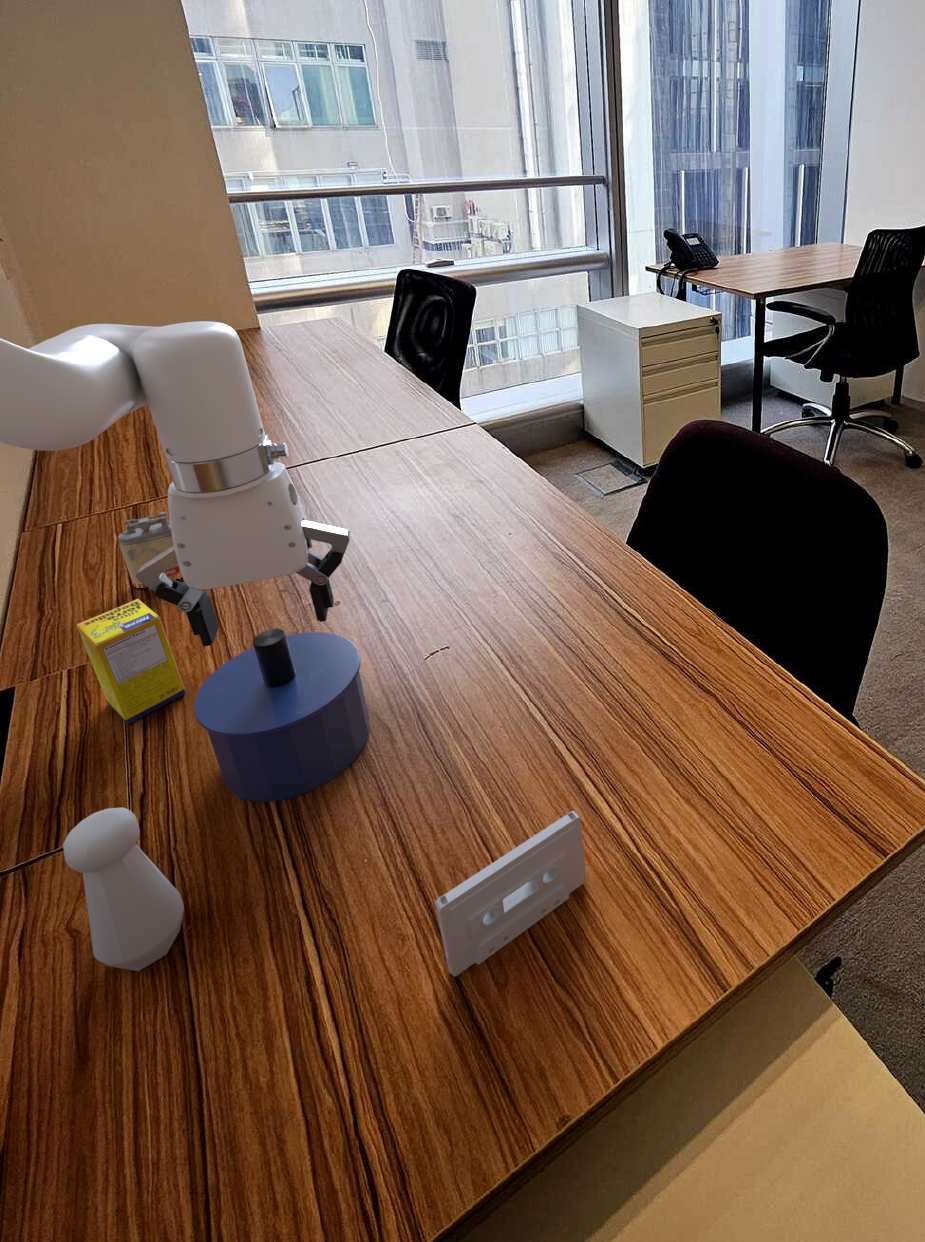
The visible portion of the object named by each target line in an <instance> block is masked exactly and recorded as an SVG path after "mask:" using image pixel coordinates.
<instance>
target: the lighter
mask: <svg viewBox="0 0 925 1242" xmlns="http://www.w3.org/2000/svg"><path fill="white" fill-rule="evenodd" d="M168 518H169V515H168V514H167V512H166V511H161V512H159V513H158V514H155V515H152V516H146V517H142V518H138V519H135V518H132V519H128V520H125V521H124V524H125V526H126V530H125V531H123V532H122V533H120V534H119V535H118V536H117V539H118V542H119V543H118V544H119V548H120V550H121V553H122V557H123V559H124V562H125V565H126V568H127V570H128V573H129V576H130V579H131V582H132V584H133V583H135V584H143V583H141V582H140V581H139V580H138V579H137V578H136V574H137V572H138V570H139V569H140V567H141V566H142V565H144V564H145V563H147V562H148V561H150V560H152V559H153V558H155V557H156V556H158V555H159V554H161V553H163V552H164V551H166V550H167V549H169V548H170V547H172V546H174V543H173V538H172V532H171V526H170V520H169V519H168ZM180 573H181V572H180V568H179V565H178V563H177V564H175V565H174V566H172V567H171V568H169V569H167V570H166V571H164V574H166V575H167V577H168V578H169V577H171V576H173V575H177V574H180Z"/></svg>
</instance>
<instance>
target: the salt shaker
mask: <svg viewBox="0 0 925 1242" xmlns="http://www.w3.org/2000/svg"><path fill="white" fill-rule="evenodd" d="M140 833H141V830H140V827H139V823H138V820H137V817H136V815H135V814H134V812H133V811H132V810H130V809H127V808H126V807H124V806H123V807H111V808H110V807H109V808H104V809H102V810H99V811H97V812H93V813H91V814H90V815H89V816H87V817H85V818H84V819H82V820H81V821H80V822H79V823H77V825H76V826H74V827H73V828H72V829H71V830H70V832H68V834H67V836H66V838H65V839H64V841H63V843H62V850H63V855H64V861H65V863H66V865H67V866H68V868H70V869H72V870H74V871H75V872H77V873H80V874H82V878H83V885H84V893H85V901H86V907H87V916H88V924H89V931H90V939H91V947H92V954H93V957H94V959H96V960H97V961H98V962H100V963H102V964H104V965H106V966H108V967H110V968H117V969H121V970H129V971H135V972H140V971H141V970H143V969H145V968H146V967H148V966H149V965H152V964H153V963H154V962H156V961H158V960H159V959H161V958H163V957H164V956H166V955H167V954H168V952H169V951H170V949H171V947H172V945H173V943H174V942H175V940H176V939H177V936H178V935H179V933H180V931H181V926H182V922H183V917H184V913H185V907H184V902H183V899H182V896H181V893H180V892H179V891H178V889H177V888H176V887H175V886H174V885H173V884H172V882H170V880H169V879H168V878H167V877H166V876H165V875H164V874H163V872H162V871H161V870H160V869H159V868H158V867H157V866H156V865H155V864H154V862H153V861H152V860H151V859H150V858H149V857H148V856H147V855H146V854H145V852H144V851H143V850H142V849H141V847H139V846H138V845H137V841H138V839H139V837H140Z"/></svg>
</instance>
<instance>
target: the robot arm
mask: <svg viewBox="0 0 925 1242" xmlns="http://www.w3.org/2000/svg"><path fill="white" fill-rule="evenodd" d="M144 406H148V408H149V411H150V414H151V417H152V421H153V423H154V427H155V429H156V433H157V436H158V439H159V442H160V445H161V448H162V451H163V454H164V458H165V461H166V464H167V467H168V470H169V473H170V477H171V481H172V482H171V483H170V484H169V486H168V489H167V507H168V518H169V519H168V520H169V522H170V526H171V532H172V538H173V543H174V546H172V547H170V548H169V549H167V550H166V551H164V552H163V553H161V554H159V555H158V556H156V557H155V558H153V559H152V560H150V561H148V562H147V563H145V564H144V565H142V566H141V567H140V569H139V570H138V572H137V574H136V578H137V579H138V580H139V581H140V582H141V583H143V584H144V585H145V586H146V587H148V588H147V589H149V590H150V591H153V593H154V596H155V597H156V598H158V599H161V600H162V601H164V602H168V603H170V604H173V605H175V606H177V609H178V611H180V612H182V613H186V616H187V619H188V622H189V625H190V628H191V631H192V634H193V635H194V636H199V638H200V642H201V644H202V646H203V647H209V646H212V645H213V644H214V641H215V639H216V637H217V634H218V630H219V628H220V625H219V620H218V618H217V615H216V612H215V608H214V605H213V602H212V598H211V596H210V594H208V593H207V590H215V589H222V588H227V587H232V586H237V585H242V584H243V585H244V584H248V583H254V582H259V581H264V580H270V579H274V578H280V577H283V576H288V575H292V574H297V575H299V576H300V577H303V578H304V579H306V580H308V581H309V582H310V585H309V594H310V597H311V601H312V605H313V610H314V613H315V616H316V620H317V622H319V623H322V622H326V621H327V619H328V612H329V609H331V608H333V607H334V603H335V600H334V595H333V590H332V586H331V582H330V577H331V576H332V574H333V573H334V572H335V571H336V570H337V569H338V567H339V566H340V565H341V564H342V562H343V559H344V556H345V554H346V550H347V548H348V546H349V544H350V540H351V539H350V538H351V531H350V530H349V529H346V528H342V527H337V526H333V525H328V524H323V523H319V522H315V521H310V520H307V516H306V513H305V510H304V508H303V504H302V502H301V499H300V497H299V494H298V492H297V489H296V487H295V484H294V483H293V480H292V478H291V475H290V474H289V472H288V470H287V468H286V467H285V464H283V463H282V462H279V461H280V459H286V458H287V459H288V458H289V448H288V444H287V443H286V442H283V443H277V442H272V440H270V439H269V435H268V434H266V433H265V432H266V431H265V429H264V425H263V421H262V417H261V413H260V409H259V406H258V402H257V398H256V394H255V391H254V386H253V383H252V379H251V375H250V370H249V368H248V363H247V359H246V356H245V352H244V348H243V345H242V342H241V338H240V336H239V335H238V333H237V331H236V330H235V329H234V328H233V327H231V326H230V325H228V324H225V323H223V322H219V321H218V322H217V321H208V320H204V321H203V320H202V321H201V320H199V321H186V322H179V323H173V324H167V325H163V326H162V325H161V326H149V325H148V326H147V325H131V324H119V323H118V324H116V323H114V324H113V323H92V324H85V325H80V326H76V327H74V328H70V329H68V330H67V331H64V332H62V333H60V334H58V335H55V336H53V337H50V338H47V339H46V340H43V341H42V342H40V343H38V344H35V345H33V346H31V347H29V348H25V347H22V346H20V345H17V344H15V343H12V342H10V341H7V340H5V339H3V338H1V337H0V443H2V444H4V445H8V446H12V447H17V448H22V449H27V450H28V449H29V450H33V451H46V452H47V451H48V452H57V451H66V450H70V449H74V448H77V447H80V446H83V445H85V444H87V443H89V442H91V441H92V440H94V439H95V438H97V437H99V436H100V435H101V434H102V433H103V432H105V431H107V430H108V428H109V429H110V427H111V426H113V424H115V423H117V421H118V420H120V419H121V418H123V417H126V416H127V415H129V414H130V413H132V412H134V411H136V410H139V409H140V408H143V407H144ZM313 541H314V542H315V541H316V542H320V543H325V544H329V545H330V546H331V548H330V549H329V550H328V551H327V553H326V554H325V555H324V556H323V557H321V555H318V554H317V553H315V552H313V551H311V550H310V549H312V548H313ZM177 563H178V565H179V568H180V572H181V575H182V577H183V579H182V580H183V581H184V583H183V582H181V581H179V580H174V579H172V578H168V577H167V575H166V574H164V571H166V570H167V569H169V568H171V567H172V566H174V565H175V564H177Z"/></svg>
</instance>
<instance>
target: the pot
mask: <svg viewBox="0 0 925 1242" xmlns="http://www.w3.org/2000/svg"><path fill="white" fill-rule="evenodd" d="M367 705H368V704H367V701H366V696H365V691H364V688H363V683H362V678H361V674H360V671H359V672H358V675H357V677H356V679H355V681H354V682H353V684H352V685H351V687H350V688H349V689H348V690H347V691H346V692H345V694H344V695H343V696H342V697H341V698H339V699H338V700H337V701H336V702H335V703H334V704H332V705H331V706H329V707H328V708H327V709H325V710H324V711H322V712H321V713H319V714H317V715H316V716H314V717H312V718H310V719H308V720H306V721H304V722H302V723H300V724H297V725H295V726H293V727H290V728H287V729H284V730H281V731H278V732H274V733H271V734H266V735H261V736H254V737H241V738H235V737H225V736H220V735H217V734H214V733H211V732H209V731H208V730H206V733H207V735H208V738H209V742H210V744H211V747H212V750H213V753H214V756H215V759H216V762H217V765H218V769H219V772H220V774H221V776H222V779H223V781H224V784H225V785H226V788H227V789H228V790H229V791H230V792H231V793H232V794H233V795H235V796H237V797H238V798H241V799H243V800H246V801H250V802H260V803H265V802H266V803H268V802H269V803H270V802H271V803H272V802H279V801H283V800H288V799H292V798H295V797H299V796H302V795H304V794H306V793H310V792H312V791H313V790H316V789H317V788H319V787H321V786H323V785H325V784H327V783H328V782H330V781H332V780H333V779H335V778H336V777H338V776H339V775H340V774H342V773H343V772H344V771H346V769H348V767H350V765H351V764H352V763H354V762H355V760H356V759H357V758H358V757H359V755H360V754H361V752H362V751H363V750H364V748H365V746H366V744H367V742H368V739H369V736H370V730H371V728H370V714H369V709H368V706H367Z"/></svg>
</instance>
